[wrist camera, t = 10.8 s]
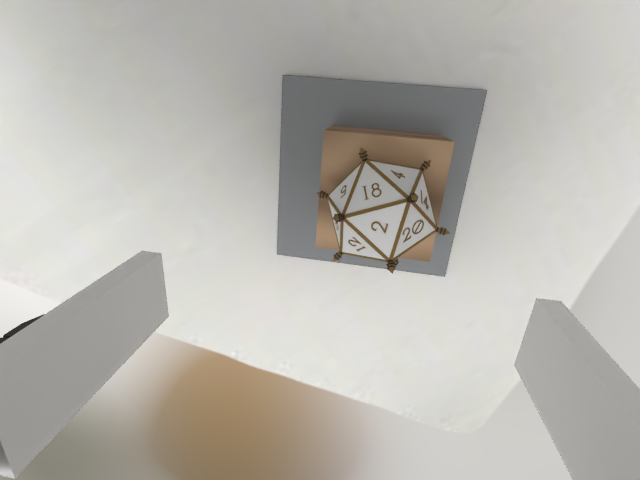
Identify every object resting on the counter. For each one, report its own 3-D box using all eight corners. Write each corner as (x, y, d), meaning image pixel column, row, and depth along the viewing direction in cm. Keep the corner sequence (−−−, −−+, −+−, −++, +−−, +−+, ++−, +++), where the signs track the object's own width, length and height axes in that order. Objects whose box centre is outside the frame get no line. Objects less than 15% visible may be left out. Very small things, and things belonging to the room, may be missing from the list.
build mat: (284, 75, 34) (282, 75, 33) (485, 90, 32) (487, 90, 31) (278, 252, 40) (276, 254, 40) (443, 274, 38) (444, 276, 38)
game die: (388, 167, 32) (461, 118, 23) (411, 260, 32) (496, 250, 22) (292, 183, 30) (330, 135, 20) (316, 285, 29) (366, 285, 20)
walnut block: (333, 125, 34) (323, 130, 28) (442, 135, 33) (454, 142, 27) (324, 225, 38) (315, 247, 32) (422, 237, 36) (430, 261, 31)
